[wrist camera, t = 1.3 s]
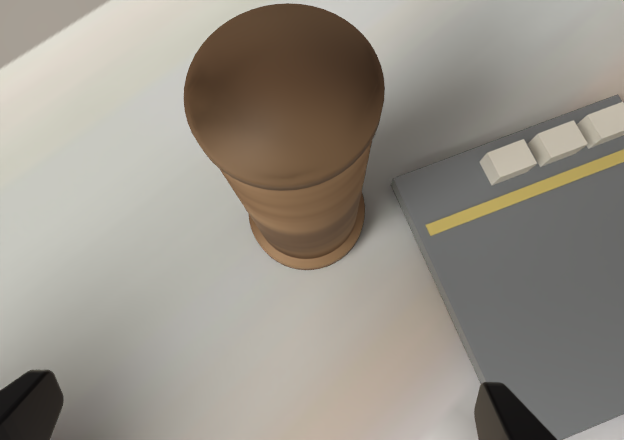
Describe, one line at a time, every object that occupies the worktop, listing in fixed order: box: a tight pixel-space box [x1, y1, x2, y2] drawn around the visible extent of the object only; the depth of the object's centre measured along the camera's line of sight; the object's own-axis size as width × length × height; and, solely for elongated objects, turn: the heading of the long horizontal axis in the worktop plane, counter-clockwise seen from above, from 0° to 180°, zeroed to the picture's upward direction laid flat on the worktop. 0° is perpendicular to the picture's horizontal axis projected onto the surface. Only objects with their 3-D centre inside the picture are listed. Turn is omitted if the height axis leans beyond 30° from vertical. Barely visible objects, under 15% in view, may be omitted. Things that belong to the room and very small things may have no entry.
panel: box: [391, 95, 624, 440], centre depth 22 cm, size 14×13×1 cm
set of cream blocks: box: [480, 102, 624, 185], centre depth 23 cm, size 1×8×1 cm, turn 110°
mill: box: [184, 4, 385, 270], centre depth 18 cm, size 6×6×12 cm
